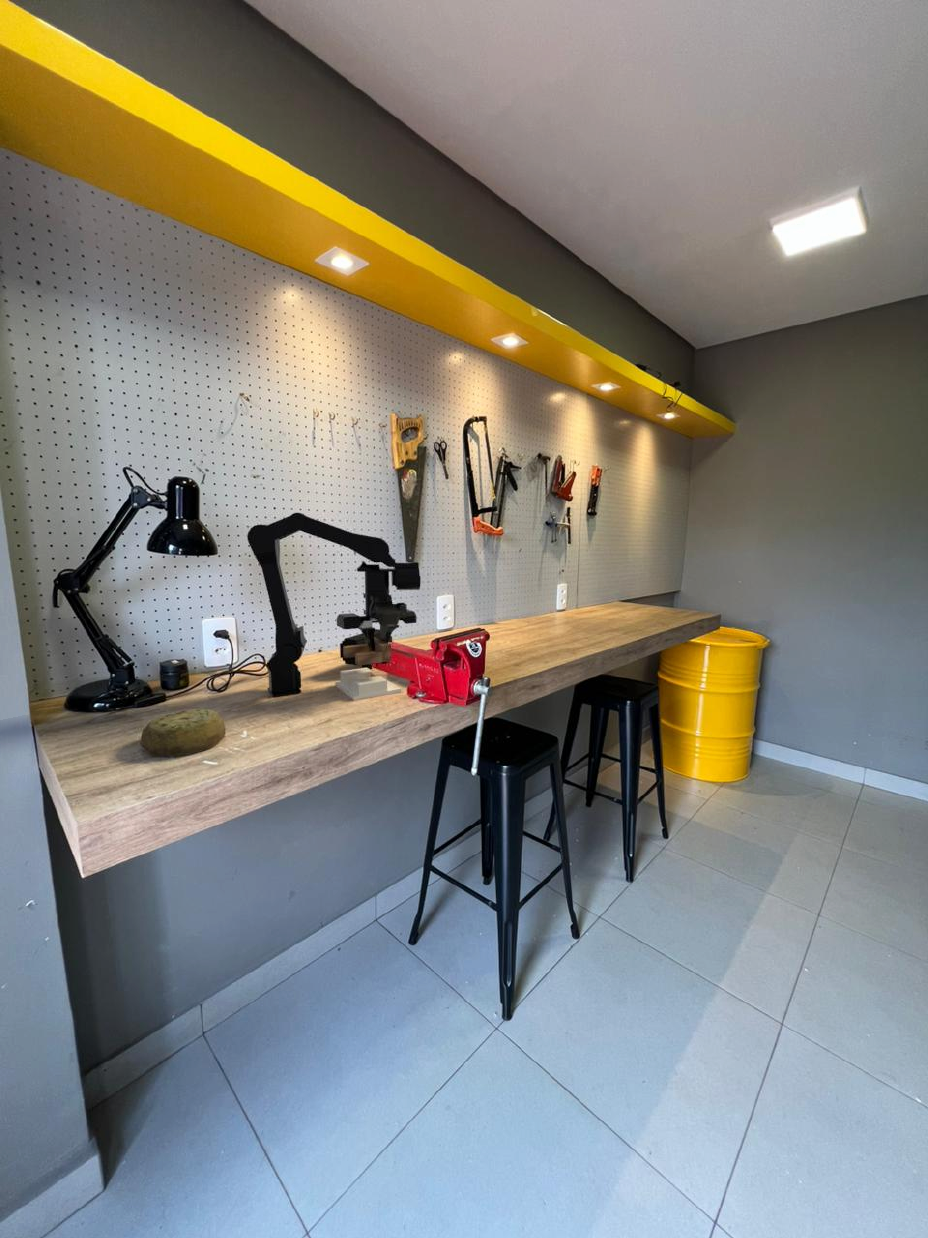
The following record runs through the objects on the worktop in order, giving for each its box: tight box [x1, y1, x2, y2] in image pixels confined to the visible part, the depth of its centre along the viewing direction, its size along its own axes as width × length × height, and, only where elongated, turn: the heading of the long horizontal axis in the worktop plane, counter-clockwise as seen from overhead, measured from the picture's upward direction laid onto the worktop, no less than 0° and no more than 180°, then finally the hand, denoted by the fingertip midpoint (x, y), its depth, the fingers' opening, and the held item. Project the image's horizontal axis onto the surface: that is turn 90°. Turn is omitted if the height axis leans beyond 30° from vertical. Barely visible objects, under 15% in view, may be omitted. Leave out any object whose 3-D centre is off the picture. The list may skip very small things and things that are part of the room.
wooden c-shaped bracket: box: [343, 637, 392, 667], centre depth 119 cm, size 8×10×4 cm
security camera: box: [339, 628, 393, 670], centre depth 139 cm, size 7×18×10 cm, turn 155°
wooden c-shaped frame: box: [334, 667, 402, 701], centre depth 121 cm, size 12×13×4 cm
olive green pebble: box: [140, 708, 226, 757], centre depth 90 cm, size 14×14×5 cm
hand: (378, 653), depth 121 cm, fingers closed on wooden c-shaped bracket, 2 cm apart
